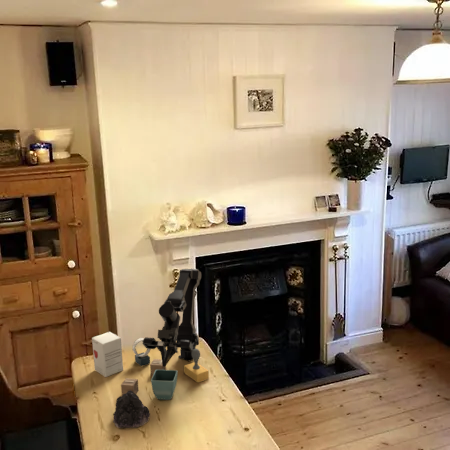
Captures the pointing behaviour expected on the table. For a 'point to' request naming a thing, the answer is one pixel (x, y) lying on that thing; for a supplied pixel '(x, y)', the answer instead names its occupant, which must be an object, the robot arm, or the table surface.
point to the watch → (141, 354)
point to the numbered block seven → (156, 366)
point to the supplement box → (107, 354)
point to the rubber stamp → (196, 368)
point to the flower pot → (164, 383)
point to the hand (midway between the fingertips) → (163, 366)
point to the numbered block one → (129, 385)
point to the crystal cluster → (130, 411)
